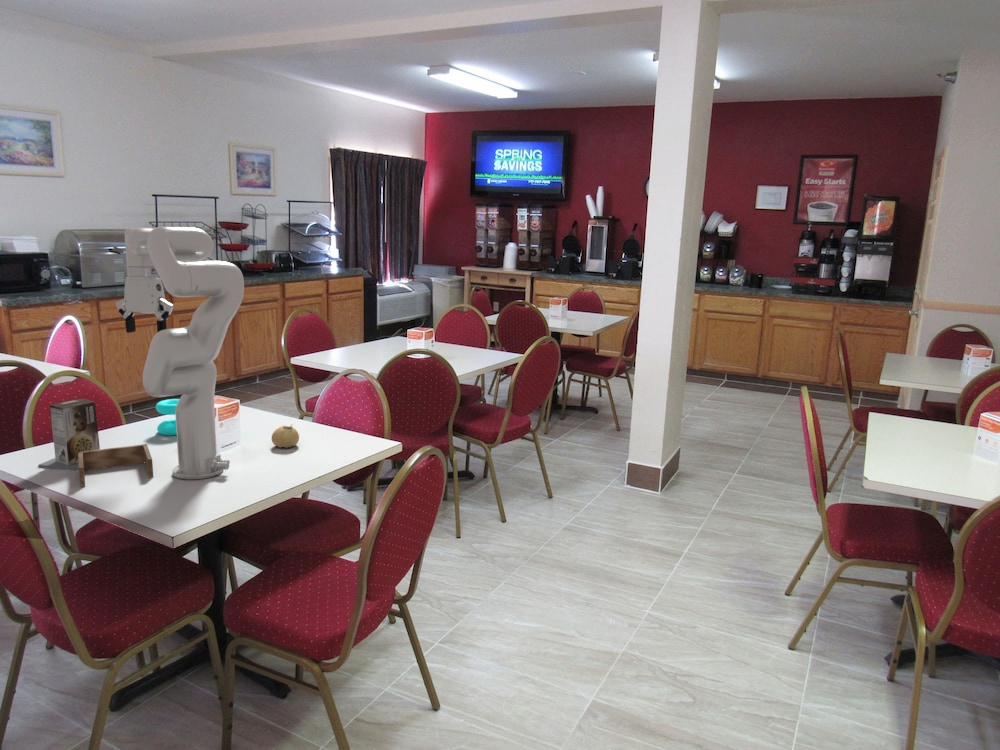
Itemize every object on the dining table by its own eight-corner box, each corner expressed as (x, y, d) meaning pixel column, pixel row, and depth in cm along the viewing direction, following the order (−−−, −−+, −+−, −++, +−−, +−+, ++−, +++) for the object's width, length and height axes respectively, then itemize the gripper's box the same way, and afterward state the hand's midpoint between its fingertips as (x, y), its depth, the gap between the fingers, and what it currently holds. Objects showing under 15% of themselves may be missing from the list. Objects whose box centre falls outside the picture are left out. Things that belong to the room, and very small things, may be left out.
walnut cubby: (148, 461, 194) (146, 444, 193) (153, 477, 182) (152, 459, 181) (79, 469, 186) (78, 451, 184) (80, 487, 174) (78, 468, 172)
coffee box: (87, 452, 197) (82, 397, 194) (101, 456, 194) (96, 401, 191) (54, 461, 189) (48, 404, 186) (68, 465, 186) (62, 407, 183)
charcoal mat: (115, 455, 197) (115, 453, 197) (81, 470, 185) (81, 468, 185) (74, 452, 199) (74, 450, 199) (38, 466, 187) (38, 464, 186)
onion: (270, 451, 207) (270, 428, 205) (273, 443, 214) (272, 421, 213) (298, 450, 208) (298, 427, 207) (300, 442, 216) (299, 420, 215)
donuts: (149, 404, 215) (165, 397, 225) (151, 435, 217) (167, 427, 227) (180, 406, 215) (195, 398, 225) (182, 437, 217) (197, 428, 227)
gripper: (178, 273, 198) (182, 333, 201) (123, 270, 200) (127, 329, 204) (162, 274, 190) (166, 336, 194) (105, 272, 193) (110, 333, 196)
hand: (146, 333), depth 199 cm, fingers open, 9 cm apart
